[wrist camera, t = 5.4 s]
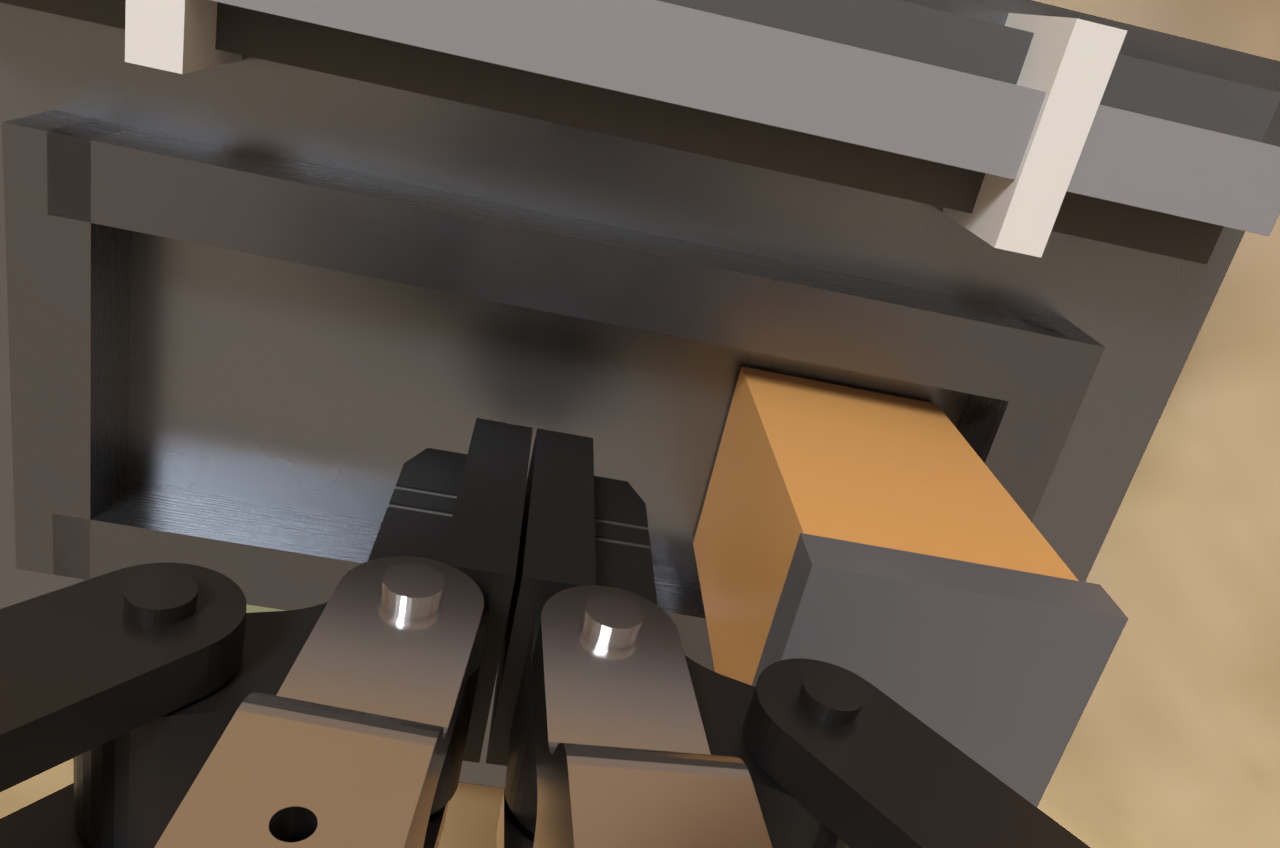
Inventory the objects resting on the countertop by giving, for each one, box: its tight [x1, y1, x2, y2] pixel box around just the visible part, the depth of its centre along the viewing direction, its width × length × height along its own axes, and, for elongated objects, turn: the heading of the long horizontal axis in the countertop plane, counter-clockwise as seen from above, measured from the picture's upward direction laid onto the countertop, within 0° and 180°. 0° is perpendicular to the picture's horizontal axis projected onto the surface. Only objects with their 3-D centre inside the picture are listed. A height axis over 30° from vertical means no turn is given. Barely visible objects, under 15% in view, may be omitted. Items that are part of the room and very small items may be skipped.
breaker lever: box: [693, 366, 1128, 807], centre depth 13 cm, size 3×3×6 cm
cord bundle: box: [0, 0, 1280, 265], centre depth 12 cm, size 16×3×2 cm, turn 78°
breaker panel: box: [0, 0, 1280, 788], centre depth 15 cm, size 18×14×3 cm
